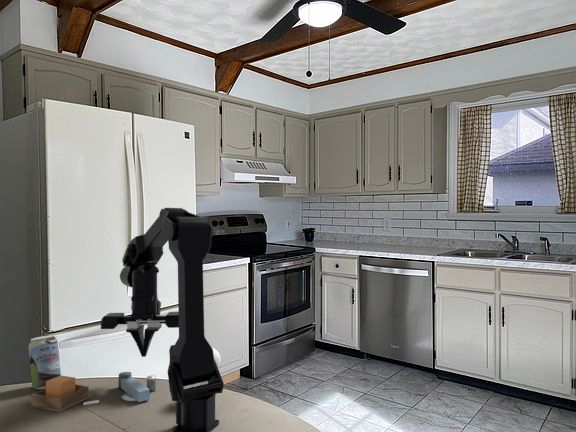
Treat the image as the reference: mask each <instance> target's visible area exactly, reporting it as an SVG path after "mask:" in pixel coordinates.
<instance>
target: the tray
mask: <svg viewBox="0 0 576 432" xmlns="http://www.w3.org/2000/svg"><path fill="white" fill-rule="evenodd" d="M89 387H90V386H88V385H82V384H76V383H75V392H73V393H70V394H68V395H66V396H64V397H61V398H55V397H49V396H46V388H45V389H40V390H39V391H37V392H36V391H35V392H34V393H31V394H30V407H31V408H35V409H41V410H46V411H51V412H58V413H60V412H62V411H65V410H67V409H69V408H71V407H73V406H76V405H78V404H79V403H81V402H83V401H86V400H88V399H89V396H90V395H89V391H90V390H89V389H90V388H89Z"/></svg>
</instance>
